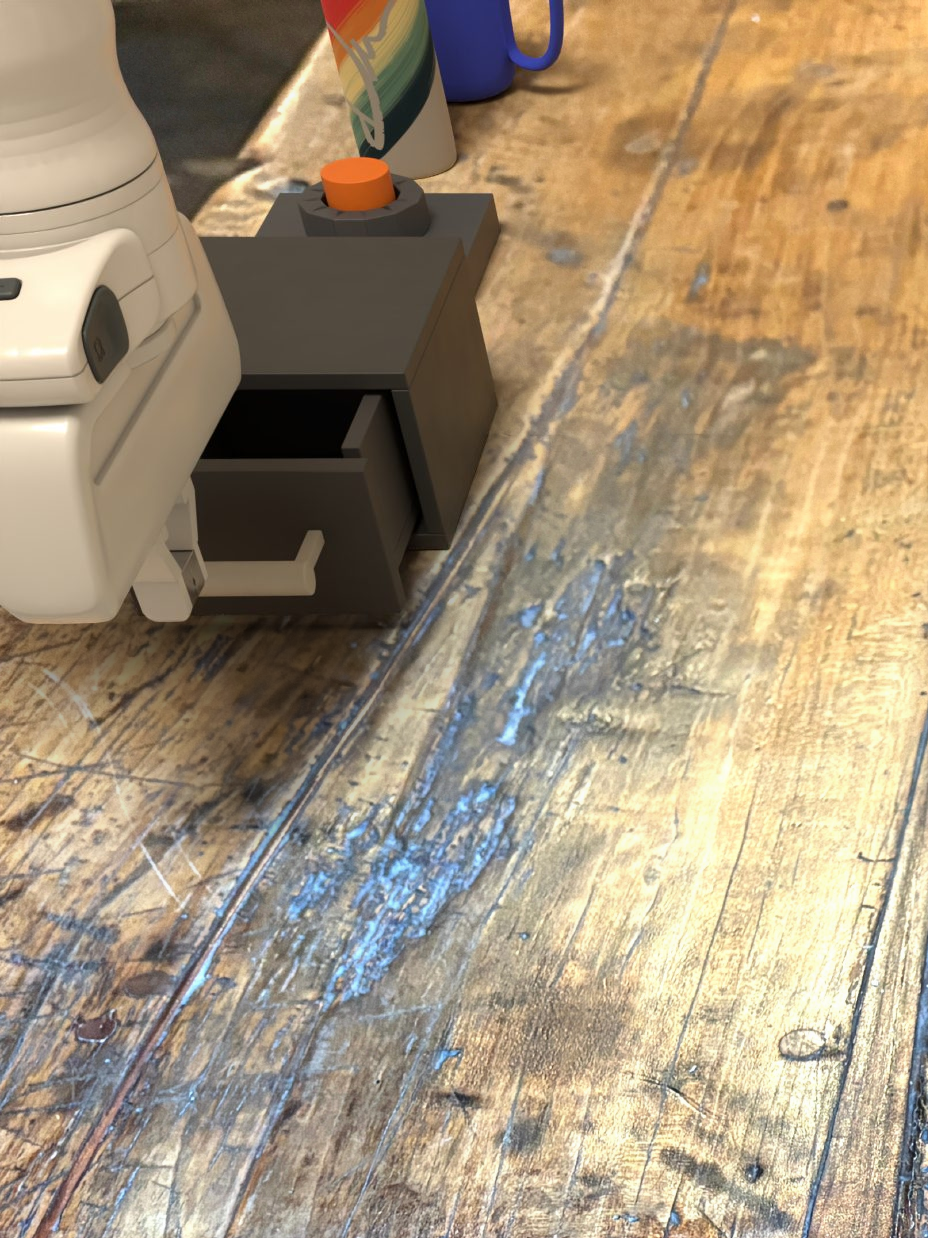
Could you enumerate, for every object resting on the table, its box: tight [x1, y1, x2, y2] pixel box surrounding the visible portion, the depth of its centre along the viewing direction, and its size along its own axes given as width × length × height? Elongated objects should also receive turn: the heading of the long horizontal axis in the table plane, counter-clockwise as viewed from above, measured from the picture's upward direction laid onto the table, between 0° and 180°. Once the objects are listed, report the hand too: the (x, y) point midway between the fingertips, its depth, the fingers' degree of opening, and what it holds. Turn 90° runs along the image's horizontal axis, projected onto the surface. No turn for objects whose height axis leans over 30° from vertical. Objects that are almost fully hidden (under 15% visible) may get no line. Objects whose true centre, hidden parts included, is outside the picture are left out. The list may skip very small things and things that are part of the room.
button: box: [319, 156, 396, 211], centre depth 122 cm, size 4×4×2 cm
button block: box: [254, 173, 502, 297], centre depth 124 cm, size 12×10×4 cm
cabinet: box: [198, 236, 499, 550], centre depth 106 cm, size 15×13×9 cm
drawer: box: [129, 389, 421, 617], centre depth 99 cm, size 18×11×7 cm, turn 4°
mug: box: [424, 0, 565, 103], centre depth 140 cm, size 8×12×10 cm
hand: (179, 602), depth 88 cm, fingers closed
